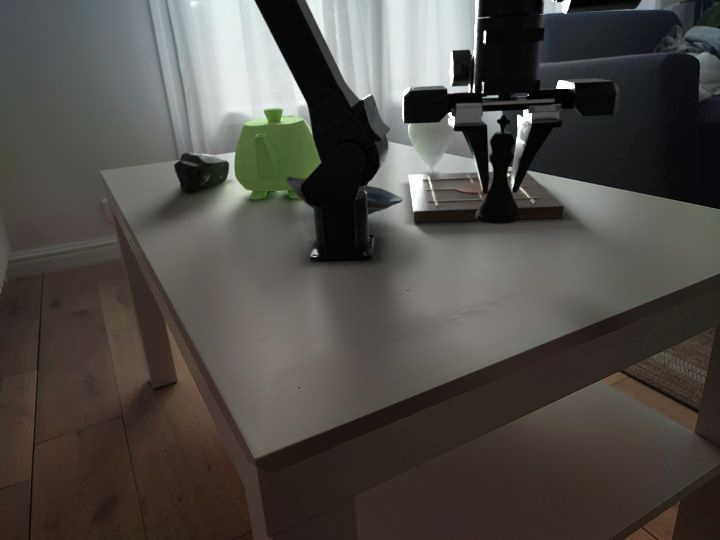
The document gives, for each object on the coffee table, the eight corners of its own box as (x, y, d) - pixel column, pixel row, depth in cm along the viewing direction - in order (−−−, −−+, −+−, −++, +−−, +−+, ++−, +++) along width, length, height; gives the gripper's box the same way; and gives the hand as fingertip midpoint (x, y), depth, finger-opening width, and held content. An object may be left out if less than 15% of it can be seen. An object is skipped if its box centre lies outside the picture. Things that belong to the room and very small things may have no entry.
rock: (162, 186, 90) (155, 153, 88) (207, 176, 96) (202, 144, 94) (192, 196, 84) (186, 160, 81) (239, 184, 89) (234, 150, 87)
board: (562, 218, 64) (564, 205, 63) (413, 222, 65) (413, 210, 65) (524, 179, 82) (525, 169, 82) (408, 184, 84) (408, 174, 83)
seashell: (276, 236, 63) (272, 195, 61) (292, 207, 75) (288, 171, 73) (404, 231, 63) (404, 189, 61) (400, 202, 74) (399, 166, 72)
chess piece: (497, 208, 56) (503, 110, 52) (530, 218, 52) (538, 114, 49) (466, 216, 54) (469, 115, 50) (497, 227, 50) (503, 119, 46)
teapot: (312, 208, 73) (304, 115, 68) (219, 210, 75) (204, 119, 70) (333, 176, 92) (327, 100, 87) (258, 178, 93) (248, 103, 88)
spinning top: (463, 173, 88) (465, 98, 84) (425, 180, 85) (425, 103, 80) (436, 166, 95) (436, 96, 90) (400, 172, 91) (398, 100, 87)
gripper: (587, 16, 53) (570, 171, 59) (400, 26, 54) (402, 177, 60) (634, 8, 43) (608, 197, 49) (402, 22, 44) (405, 204, 50)
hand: (499, 192), depth 52 cm, fingers closed on chess piece, 2 cm apart
